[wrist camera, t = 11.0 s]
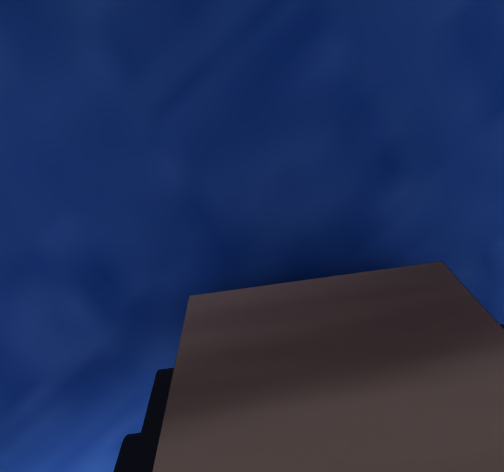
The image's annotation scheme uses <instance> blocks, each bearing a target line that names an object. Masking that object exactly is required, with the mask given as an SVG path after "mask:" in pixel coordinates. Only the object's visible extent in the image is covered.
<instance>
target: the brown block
mask: <svg viewBox="0 0 504 472" xmlns="http://www.w3.org/2000/svg"><path fill="white" fill-rule="evenodd" d="M153 472H504V329H503V328H502V327H501V326H500V325H499V324H498V322H497V321H496V320H495V319H494V318H493V317H492V316H491V315H490V314H489V313H488V311H487V310H486V309H485V308H484V307H483V306H482V305H481V304H480V303H479V302H478V300H477V299H476V298H475V297H474V296H473V295H472V294H471V293H470V292H469V291H468V289H467V288H466V287H465V286H464V285H463V284H462V283H461V282H460V281H459V280H458V278H457V277H456V276H455V275H454V274H453V273H452V272H451V271H450V270H449V269H448V267H447V266H446V265H445V264H444V263H443V262H442V261H439V262H432V263H425V264H417V265H410V266H403V267H396V268H388V269H381V270H374V271H366V272H359V273H352V274H345V275H337V276H330V277H323V278H315V279H308V280H301V281H294V282H286V283H279V284H272V285H264V286H257V287H250V288H243V289H235V290H228V291H221V292H213V293H206V294H199V295H191V296H189V299H188V304H187V309H186V314H185V319H184V323H183V328H182V333H181V338H180V343H179V347H178V352H177V357H176V362H175V367H174V371H173V376H172V381H171V386H170V390H169V395H168V400H167V405H166V410H165V414H164V419H163V424H162V429H161V434H160V438H159V443H158V448H157V453H156V458H155V462H154V467H153Z"/></svg>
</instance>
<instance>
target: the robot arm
mask: <svg viewBox="0 0 504 472" xmlns="http://www.w3.org/2000/svg"><path fill="white" fill-rule="evenodd" d="M500 326H501V327H502V328H503V329H504V325H503V324H500ZM173 371H174V368H169V369H161V370H158V371H157V373H156V377H155V381H154V385H153V389H152V392H151V396H150V400H149V404H148V408H147V412H146V415H145V419H144V423H143V427H142V431H141V433H136V434H128V435H127V436H126V437H125V438H124V440H123V443H122V445H121V449H120V452H119V455H118V459H117V462H116V465H115V469H114V472H153V467H154V462H155V458H156V453H157V448H158V443H159V438H160V434H161V429H162V424H163V419H164V414H165V410H166V405H167V400H168V395H169V390H170V386H171V381H172V376H173Z"/></svg>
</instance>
